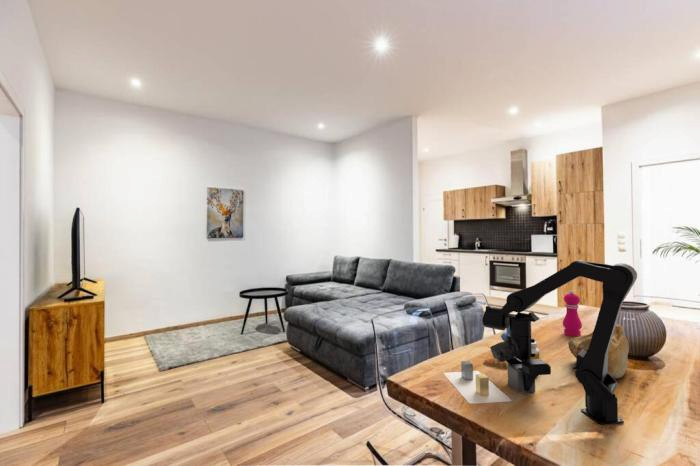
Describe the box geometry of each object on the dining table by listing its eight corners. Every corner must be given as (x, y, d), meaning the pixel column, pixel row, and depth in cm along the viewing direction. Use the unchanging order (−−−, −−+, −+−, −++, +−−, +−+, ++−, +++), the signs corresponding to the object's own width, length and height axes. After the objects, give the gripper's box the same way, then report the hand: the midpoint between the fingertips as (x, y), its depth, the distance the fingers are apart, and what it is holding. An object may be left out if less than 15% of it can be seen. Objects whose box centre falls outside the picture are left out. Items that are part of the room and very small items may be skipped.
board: (512, 405, 92) (512, 401, 92) (469, 408, 91) (469, 403, 91) (478, 374, 112) (478, 370, 112) (443, 376, 111) (443, 372, 111)
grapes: (506, 347, 137) (505, 317, 137) (524, 351, 132) (523, 320, 132) (495, 355, 128) (494, 323, 128) (514, 359, 124) (513, 327, 124)
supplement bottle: (542, 374, 111) (541, 344, 111) (524, 373, 112) (524, 343, 112) (536, 367, 116) (536, 339, 116) (519, 366, 117) (519, 338, 117)
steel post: (473, 379, 105) (472, 364, 105) (464, 380, 105) (464, 364, 105) (469, 376, 107) (469, 360, 107) (461, 376, 107) (461, 361, 107)
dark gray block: (535, 393, 97) (534, 370, 97) (518, 394, 96) (517, 371, 96) (524, 385, 102) (523, 363, 102) (508, 386, 102) (507, 364, 102)
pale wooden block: (488, 395, 95) (488, 377, 95) (480, 396, 95) (479, 378, 95) (484, 391, 97) (484, 373, 97) (475, 391, 97) (475, 374, 97)
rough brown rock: (582, 355, 129) (577, 316, 129) (638, 365, 115) (632, 321, 116) (556, 374, 114) (551, 329, 115) (616, 387, 101) (610, 337, 102)
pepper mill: (559, 333, 153) (558, 289, 153) (569, 331, 156) (568, 288, 156) (575, 337, 147) (574, 292, 147) (585, 335, 150) (584, 290, 150)
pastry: (483, 370, 115) (483, 359, 115) (483, 363, 121) (483, 352, 121) (513, 374, 112) (513, 362, 112) (511, 366, 118) (511, 355, 118)
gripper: (479, 326, 108) (480, 374, 108) (512, 345, 89) (513, 404, 89) (512, 324, 109) (513, 372, 109) (551, 343, 90) (552, 401, 90)
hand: (521, 386), depth 99 cm, fingers closed on dark gray block, 5 cm apart
